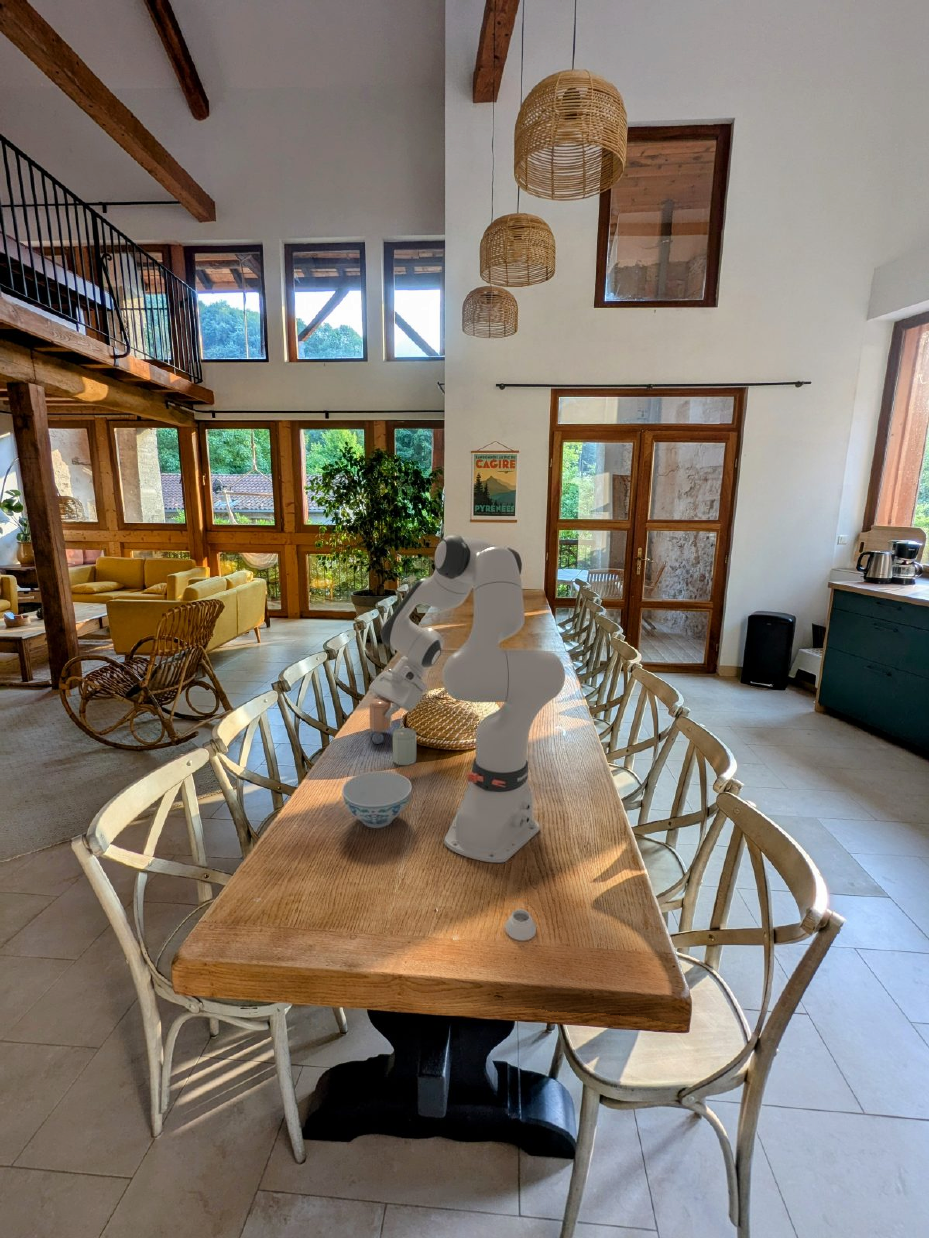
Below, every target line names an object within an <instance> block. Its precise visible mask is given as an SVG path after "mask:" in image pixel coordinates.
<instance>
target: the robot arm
mask: <svg viewBox="0 0 929 1238" xmlns="http://www.w3.org/2000/svg"><path fill="white" fill-rule="evenodd" d="M434 568H435V570H434V572H433V574H432V575H431V576H429V577H422V578H420V579H419V580H418V581H416V583H415V584H414V585H413V586H412V587H411V588H410V589H409V591H408V592H407V593H406V594H405V596H404V598H403V599H402V600H401V601H400V603H399V604H398V606H397V607H396V608H395V610H394V611H393V613H392V614H391V615H390V617H388V618H387V619H386V621H385V622H384V623H383V625H382V627H381V628H380V630H379V634H380V638H381V642H382V644H384V645H385V646H388V647H389V648H392V649H394V650H395V651H397V652H399V653H400V654H402V655H403V656H402V657H401V658H400V659H399V660H398V662H396V664H395V666H394V667H393V668H388V669H385V670H384V671H382V672H381V673H379V674H378V675H377V676H376V677H375V678H374V680H373V681H371V684H369V687H368V690H369V691H370V693H372V694H374V696H373V699H372V700H374V699H379V698H384V699H388V700H390V701H391V708H390V709H389V710H386V711H385V713H383V715H384V716H385V717H386V718H388V719H389V718H390V717H391V718H392V717H393V715H394V714H395V713H398V711H399V710H400V709H402V710H404V711H406V712H408V713H409V712H412V711H413V710H414V709H415V708H416V707H417V705H418V704H419V702H420V701H421V699H422V698H423V696H424V695H423V694H424V693H426V692H427V690H428V689H429V687H428V685H427V684H426V683H425V682H424V680H423V678H424V676H425V673H426V671H427V670H428V668H430V667H433V666H434V664H435V663H436V662H437V661H438V660H439V658H440V656H441V654H442V648H443V646H444V643H445V639H444V637H443V636H442V634H440V633H439V632H438V631H437V630H435V629H433V628H430V627H427V628H425V629H423V628H422V627H421V626H419V625H418V624H416V623H414V622H413V621H412V619H410V616H411V614H412V612H413V611H414V610H415V608H416V607H417V605H425V606H430V607H433V608H437V609H440V610H442V609H443V610H452V609H455V608H458V607H460V606H461V605H463V603H464V602H465V601H466V600H467V598H468V596H469V595H470V593H471V591H472V590H473V591H472V592H473V593H472V595H473V598H472V599H473V619H472V621H473V622H472V627H471V631H470V633H469V636H468V637H467V639H466V641H465V642H464V643H463V644H462V646H461V647H460V648H458V649H457V650H456V651H455V652H453V653H451V655H449V657H448V658H447V659H446V662H445V663H444V665H443V669H442V672H441V677H442V678H441V679H442V684H443V687H444V689H445V691H446V693H447V694H448V696H449V697H451V698H452V699H453V700H459V701H463V702H470V703H502V705H501V706H500V707H499V709H498V710H496V711H495V712H493V713H490V714H488V715H487V716H485V717H484V718H483V719H482V720H481V721H480V722H479V724H478V726H477V727H476V730H475V756H474V758H473V762H472V767H471V771H469V772H468V773H467V777H466V779H467V780H466V781H467V782H468V784H467V787H466V790H465V792H464V795H463V797H462V799H461V803H460V805H459V808H458V810H457V813H456V814H455V816H454V818H453V821H452V822H451V825H450V827H449V829H448V831H447V833H446V834H445V837H444V840H443V844H444V846H446V847H447V848H448V849H449V850H450V851H452V852H454V853H457V854H459V855H461V856H462V857H463V856H464V857H467V858H468V859H469V858H470V859H473V860H476V861H481V862H487V863H506V862H507V861H509V859H511V857H512V856H515V854H516V853H517V852H518V851H519V850H520V849H521V848H523V847H524V846H525V845H526V844H527V843H528V842H529V841H531V839H532V838H533V837H535V835H536V834H537V833H538V832H540V829H541V825H540V823H539V822H537V820H535V817H534V816H535V814H534V811H535V810H534V808H535V807H534V804H535V803H534V791H533V790H532V788H531V786H530V785H529V782H528V778H529V762H528V760H527V752H528V742H529V734H530V730H531V727H532V725H533V723H534V720H535V718H536V717H537V716H538V714H539V712H541V710H542V709H543V708H544V707H545V706H546V705H547V704H548V703H550V702H551V701H552V700H553V699H555V698H557V696H559V694H560V693H561V691H562V690H563V687H564V685H565V680H566V671H565V667H564V664H563V662H562V661H561V660H560V657H558V655H557V654H555V653H553V652H549V651H543V650H538V649H503V648H501V647H500V645H499V644H500V643H501V642H503V641H505V640H507V639H510V638H511V637H513V636H514V635H516V634H518V633H519V632H520V631H521V629H522V628H523V626H524V624H525V619H526V617H525V616H526V615H525V614H526V613H525V606H524V605H525V604H524V596H523V586H522V585H523V584H522V578H521V574H522V569H523V563H522V558H521V556H520V554H519V552H517V551H516V550H515V549H512V548H511V547H508V546H502V545H500V544H496V543H492V542H489V541H486V540H484V539H481V538H480V539H479V538H474V537H466V536H461V535H458V534H455V535H452V534H451V535H446V536H444V537H443V538H442V539H440V540H439V542H438V544H437V546H436V549H435V553H434Z"/></svg>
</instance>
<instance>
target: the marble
mask: <svg viewBox="0 0 929 1238" xmlns="http://www.w3.org/2000/svg"><path fill="white" fill-rule="evenodd" d="M371 738H372V739H371V740H372V742H373V743H374V744H376V745H380V744H382V743H383V742H384V739H385V738H384V735H383V734H382V733H381V732H375V733H374V734H373V735H372V737H371Z"/></svg>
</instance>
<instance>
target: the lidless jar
mask: <svg viewBox="0 0 929 1238" xmlns="http://www.w3.org/2000/svg"><path fill="white" fill-rule="evenodd" d="M504 930H505V932H506V935H508V936H509V937H510V938H511V939H513V940H516V941H521V942H522V941H523V942H524V941H529V940H531V939H533V938H534V937H535V935H536V932H537V927H536V924H535V922H534V920H533V918H532V916H531V914H530V912H528V911H527V910H526V909H523V908H521V909H520V908H519V909H515V910H514V911H513V912H512V913H511V915H510V916H509V917H508V919H507V920H506V922H505V927H504Z"/></svg>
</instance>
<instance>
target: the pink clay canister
mask: <svg viewBox="0 0 929 1238" xmlns="http://www.w3.org/2000/svg"><path fill="white" fill-rule="evenodd" d="M369 703H370V704H369V729H371V730H372V731H374V732H385V731H389V730H390V729H391V728H392V716H391V717H390V718H389V719H388V718H386V717H385V716H384V715H383V713H385V711H386V710H389V709H390V708H391V707H392V703H391V701H390V700H388V699H384V698H379V699H374V700H373V699H372V700H371V701H370V702H369Z"/></svg>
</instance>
